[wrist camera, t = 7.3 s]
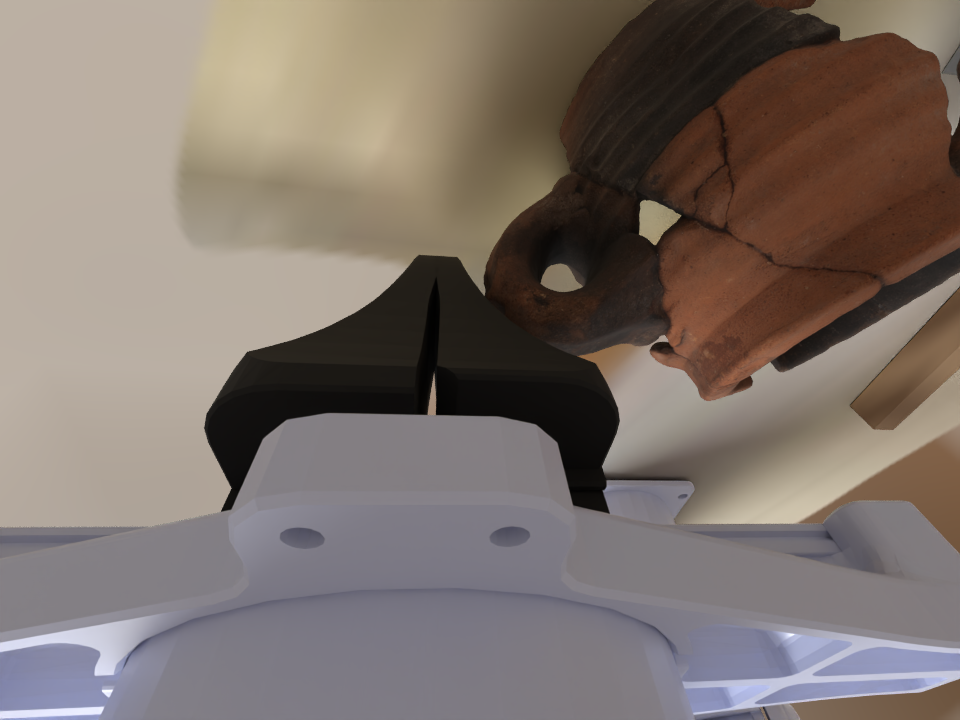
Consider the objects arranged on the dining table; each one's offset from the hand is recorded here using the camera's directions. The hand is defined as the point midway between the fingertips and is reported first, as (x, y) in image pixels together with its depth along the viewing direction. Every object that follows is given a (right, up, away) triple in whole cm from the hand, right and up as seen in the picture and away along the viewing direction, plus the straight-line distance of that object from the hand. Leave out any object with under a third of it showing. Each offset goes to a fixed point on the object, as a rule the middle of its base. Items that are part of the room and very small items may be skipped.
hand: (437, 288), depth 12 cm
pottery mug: (+7, +3, +2) cm, 8 cm away
